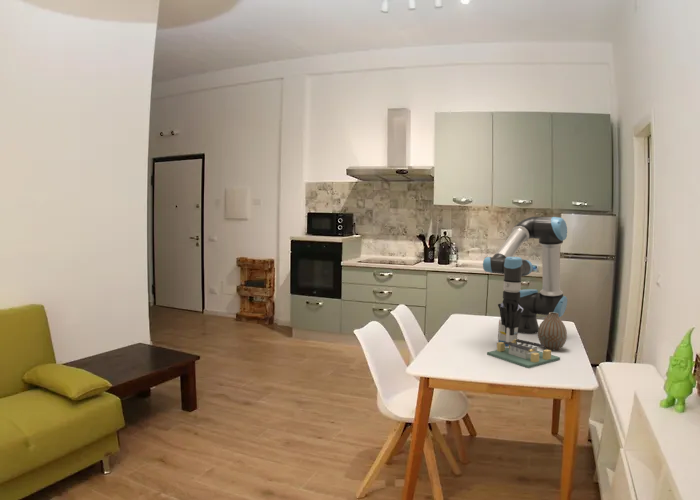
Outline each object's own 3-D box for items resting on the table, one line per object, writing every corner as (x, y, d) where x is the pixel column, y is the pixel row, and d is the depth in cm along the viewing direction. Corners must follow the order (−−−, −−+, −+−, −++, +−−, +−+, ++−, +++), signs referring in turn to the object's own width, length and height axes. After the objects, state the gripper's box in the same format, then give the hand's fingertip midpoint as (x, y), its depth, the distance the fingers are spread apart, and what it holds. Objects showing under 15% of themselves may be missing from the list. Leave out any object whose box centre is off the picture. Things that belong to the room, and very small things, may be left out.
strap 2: (517, 340, 229) (517, 338, 229) (544, 346, 217) (544, 344, 217) (513, 341, 227) (513, 339, 227) (540, 347, 215) (540, 345, 215)
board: (518, 347, 235) (518, 337, 235) (559, 359, 217) (560, 349, 217) (487, 354, 222) (487, 344, 222) (528, 368, 204) (529, 356, 204)
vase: (537, 350, 232) (539, 314, 230) (536, 343, 244) (538, 309, 242) (567, 353, 227) (569, 317, 226) (565, 346, 239) (567, 311, 238)
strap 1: (507, 342, 224) (507, 340, 224) (534, 351, 212) (535, 349, 212) (503, 343, 222) (503, 341, 222) (530, 352, 210) (530, 350, 210)
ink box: (517, 347, 236) (518, 323, 235) (499, 345, 238) (500, 322, 237) (514, 342, 245) (516, 319, 244) (497, 341, 246) (498, 318, 245)
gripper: (494, 289, 222) (492, 339, 224) (518, 293, 212) (515, 346, 214) (505, 288, 226) (502, 337, 228) (529, 292, 216) (526, 344, 218)
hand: (509, 341), depth 221 cm, fingers closed
